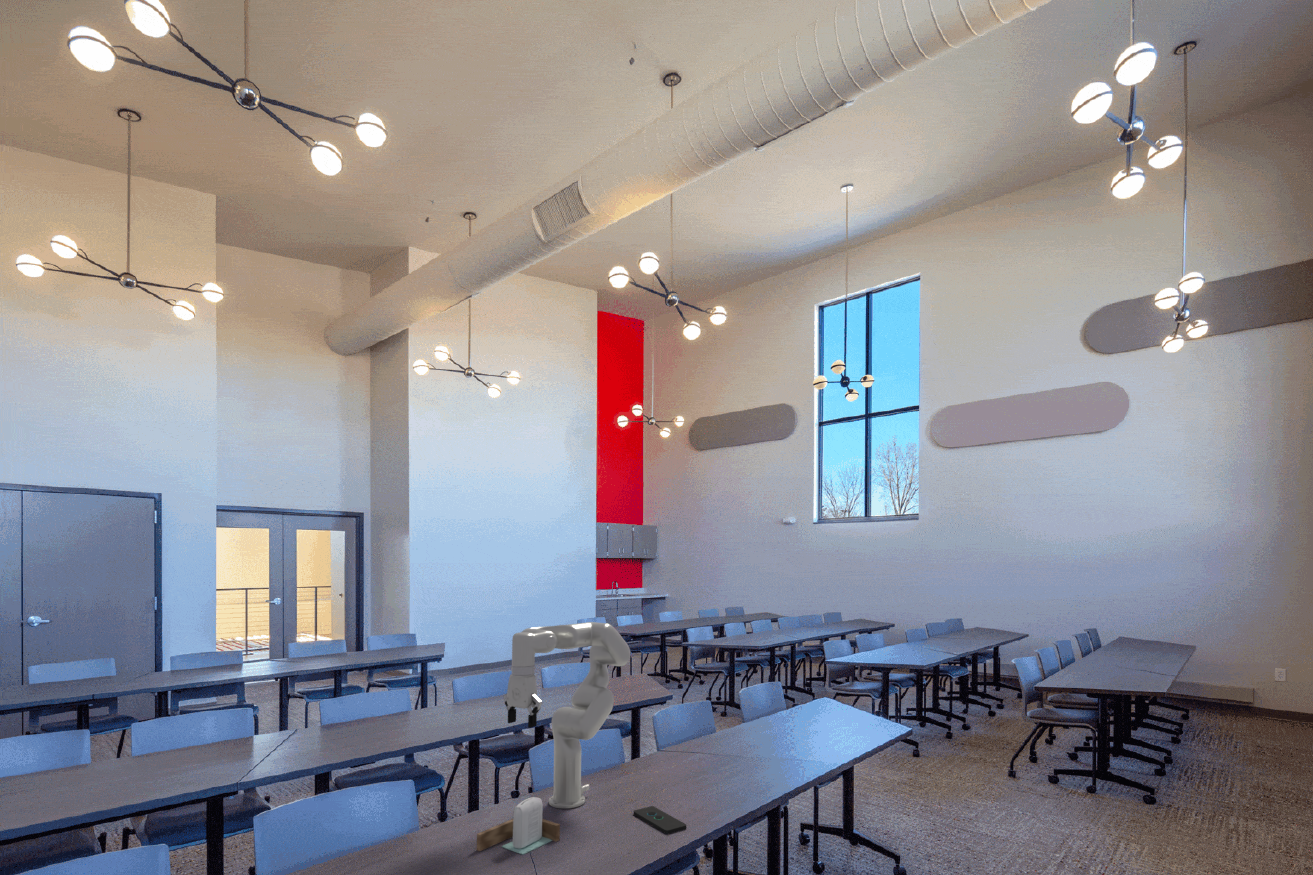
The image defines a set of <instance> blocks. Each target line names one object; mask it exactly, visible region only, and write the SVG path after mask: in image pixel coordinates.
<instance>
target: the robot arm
mask: <svg viewBox="0 0 1313 875" xmlns="http://www.w3.org/2000/svg"><path fill="white" fill-rule="evenodd" d="M511 641H512V642H511V645H512V646H511V667H510V669H511V674H510V675H509V679H508V683H507V690H506V692H507V693H505V694H504V695H503V700H504V705H505V706H506V707H505V708H506V711H507V724H512V723H516V722H517V709H516V708H519V709H524V710H525V709H527V711H528V713H529V714H528V715H527V716H528V718H527V719H528V720H527V727H528V728H529V729H532V728H535V727H537V721H538V719H537V716H538V715H537V714H539V711H540V710H541V707H542V705H543V701H542V700H541V699H540V697H538V691H537V690H538V689H537V680H536V679H537V678H536V675H535V663H536V662H535V658H536V656H535V655H536V654H548V653H551V652H552V651H554V650H555V649H559V650H571V649H572V650H573V649H578V648H586V647H590V649H589V670H588V673H587V675H586V676H585V678H584V679H583V680H582V682H581V683H580V684H579V686H578V687H577V689H576V690H575V691H574V693H573V695H572V698H571V705H572V707H570V706H562V707H559V708H558V709H556V710H555V711H554V712H553V715H552V716H551V731H552V736H553V795H552V796H550V797H549V798H548V804H549V806H551V807H552V808H556V809H573V808H578V807H580V806H583V805H584V804H585V802H586V796H584V795H583V794H584V792H586V791H589V790H590V784H587V783H586V784H583V785H582V746H581V742H580V740H581V741H582V740H583V741H588V740H590V739H593V738H594V737H595V735H597V733H598V732H599V730H600V729H601V727H602V726H603V725H604V723H605V721H606V720H607V719H608V717H609V716H610V714H611V712H612V711H613V708H614V703H615V696H614V693H613V692H612V690H610V689H609V688H607V687H608V685H609V684H610V675H609V669H608V666H614V667H624V666H626V665H627V664H628V663H629V662H630V659H631V649H630V647H629V644H628V643H627V642H626V640H625V639H624V638H623V637H622V635H621V634H620V632H619V631H618V630H617V628H615V627H614V626H613V625H611V623H607V622H605V623H604V622H596V621H595V622H594V621H588V622H587V621H586V622H579V623H572V624H559V625H548V626H538V627H537V626H536V627H535V626H534V627H528V628H525V629H523V630H522V631H520V632H516V633H514V634H513V635H512V639H511Z"/></svg>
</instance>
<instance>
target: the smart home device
mask: <svg viewBox="0 0 1313 875" xmlns="http://www.w3.org/2000/svg"><path fill="white" fill-rule="evenodd" d="M633 816H634V817H635V818H639V819H640V820H641V821H643V822H645V823H646V824H648V825H650V826H651V827H653V828H654V829H656V830H658V831H660V832H662V833H663V834H665V835H670V834H674V833H677V832H681V831H684V830H687V824H686V823H684V822H683V821H681V820H679V819H677V818H676V817H674V816H672V815H670V814H669V813H666V812H664V811H663V810H661V809H659V808H657V807H655V806H653V805H651V806H647V807H642V808H639V809H634V810H633Z"/></svg>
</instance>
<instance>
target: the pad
mask: <svg viewBox="0 0 1313 875" xmlns="http://www.w3.org/2000/svg"><path fill="white" fill-rule="evenodd" d="M550 842H553V840H551V839H548V838H545V837H541V839H539V840H537V841H535V842H533V843H531V844H529V845H528V846H526V847H523V848H521V849H518V848H515V847H514V846H513V840H512V841H510V842H508V843H505V844H503V845H502V846H501V848H503V849H505V850H509V851H512V852H514V853H516V854H519V855H523V856H524V855H526V854H527V853H530V852H532V851H533V850H536V849H538V848H540V847H542V846H544V845H547V844H549V843H550Z"/></svg>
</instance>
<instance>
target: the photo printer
mask: <svg viewBox="0 0 1313 875" xmlns="http://www.w3.org/2000/svg"><path fill="white" fill-rule="evenodd" d="M543 807H544V806H543V801H542V799H541V798H540V797H536V796H532V797H529V798H525V799H524V800H522V801H521V802H519V803H518V804H517V805H516V806H515V807H514V810H513V818H512V819H513V837H512V841H513V846H514V847H515V848H518V849H521V848H523V847H526V846H528V845H529V844H531V843H533V842H535V841H537V840H539V839H541V837H542V819H543Z"/></svg>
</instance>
